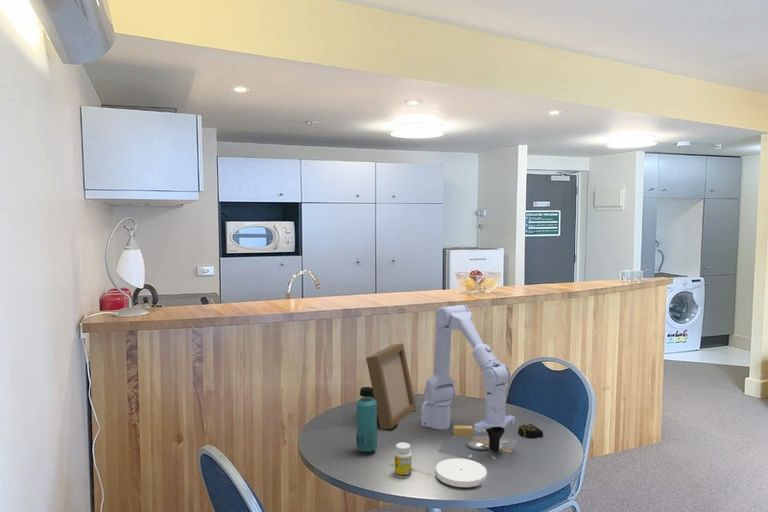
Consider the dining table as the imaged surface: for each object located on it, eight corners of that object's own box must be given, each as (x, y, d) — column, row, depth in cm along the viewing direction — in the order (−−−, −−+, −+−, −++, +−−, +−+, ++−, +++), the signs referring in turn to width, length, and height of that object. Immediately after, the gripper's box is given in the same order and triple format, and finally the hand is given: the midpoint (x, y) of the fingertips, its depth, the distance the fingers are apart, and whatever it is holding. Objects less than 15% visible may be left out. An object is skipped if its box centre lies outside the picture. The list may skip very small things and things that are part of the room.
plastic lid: (438, 464, 157) (439, 455, 157) (487, 469, 154) (487, 461, 154) (432, 487, 143) (432, 478, 143) (485, 493, 140) (485, 484, 140)
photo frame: (416, 411, 200) (417, 344, 199) (391, 431, 181) (392, 358, 179) (380, 405, 207) (381, 340, 205) (353, 423, 187) (353, 353, 186)
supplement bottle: (393, 470, 152) (393, 441, 152) (410, 470, 153) (410, 441, 152) (395, 478, 147) (395, 449, 147) (412, 478, 148) (412, 448, 147)
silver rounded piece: (460, 444, 167) (461, 432, 167) (476, 437, 172) (477, 425, 172) (493, 457, 158) (493, 444, 158) (508, 449, 163) (509, 437, 163)
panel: (437, 455, 162) (437, 450, 162) (458, 432, 180) (458, 428, 180) (502, 469, 153) (502, 464, 153) (518, 444, 171) (518, 439, 171)
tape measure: (544, 441, 174) (544, 429, 174) (525, 443, 172) (525, 432, 172) (532, 433, 181) (532, 422, 180) (514, 435, 178) (514, 424, 178)
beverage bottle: (380, 449, 166) (380, 385, 165) (372, 458, 160) (373, 392, 159) (360, 446, 168) (360, 383, 167) (352, 454, 162) (352, 389, 161)
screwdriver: (454, 435, 175) (454, 428, 174) (453, 432, 177) (453, 425, 177) (491, 436, 174) (491, 429, 174) (490, 433, 177) (490, 426, 176)
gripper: (486, 414, 152) (485, 460, 153) (523, 405, 160) (521, 450, 161) (469, 406, 158) (468, 451, 159) (506, 398, 166) (504, 441, 167)
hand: (494, 450), depth 160 cm, fingers closed, pressing on silver rounded piece
